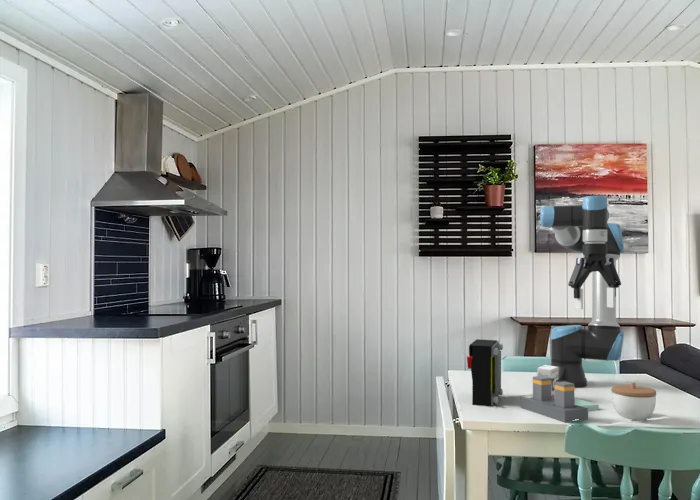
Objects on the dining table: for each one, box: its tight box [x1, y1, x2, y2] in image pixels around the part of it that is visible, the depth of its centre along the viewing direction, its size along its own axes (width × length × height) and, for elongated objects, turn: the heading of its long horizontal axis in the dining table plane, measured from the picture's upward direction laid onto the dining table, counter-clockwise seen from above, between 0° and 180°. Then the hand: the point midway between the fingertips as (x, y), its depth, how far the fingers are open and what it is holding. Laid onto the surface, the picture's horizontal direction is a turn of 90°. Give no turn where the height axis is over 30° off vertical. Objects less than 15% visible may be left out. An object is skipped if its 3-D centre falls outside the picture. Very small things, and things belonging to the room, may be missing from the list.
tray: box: [574, 397, 600, 412], centre depth 197 cm, size 12×12×2 cm
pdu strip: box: [520, 375, 589, 424], centre depth 188 cm, size 20×9×11 cm, turn 23°
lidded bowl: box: [610, 381, 657, 422], centre depth 185 cm, size 13×13×11 cm
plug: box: [555, 381, 576, 409], centre depth 183 cm, size 4×4×10 cm
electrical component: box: [466, 338, 504, 408], centre depth 208 cm, size 18×10×20 cm, turn 160°
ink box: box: [536, 364, 558, 399], centre depth 209 cm, size 8×5×12 cm, turn 144°
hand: (595, 308), depth 195 cm, fingers open, 13 cm apart
